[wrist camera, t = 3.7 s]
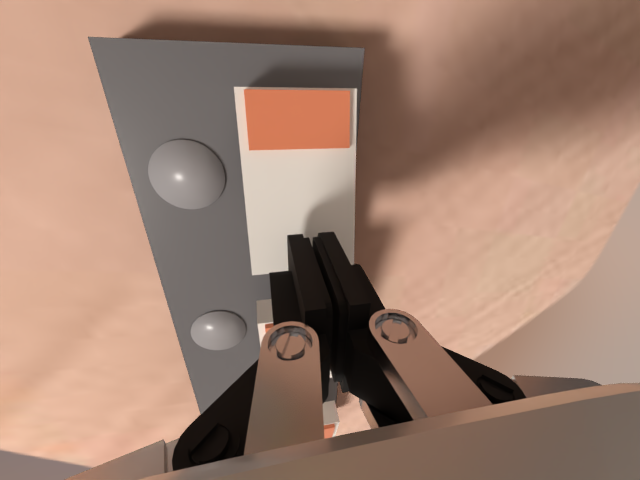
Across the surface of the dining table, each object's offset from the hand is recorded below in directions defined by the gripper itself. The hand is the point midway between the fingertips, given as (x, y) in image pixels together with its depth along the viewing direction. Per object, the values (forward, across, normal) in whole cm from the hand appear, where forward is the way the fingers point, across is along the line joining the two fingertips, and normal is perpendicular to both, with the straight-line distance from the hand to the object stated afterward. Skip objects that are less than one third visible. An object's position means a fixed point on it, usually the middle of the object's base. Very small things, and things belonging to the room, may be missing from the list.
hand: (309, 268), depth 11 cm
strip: (+6, +2, +6) cm, 8 cm away
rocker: (+2, 0, -3) cm, 3 cm away
